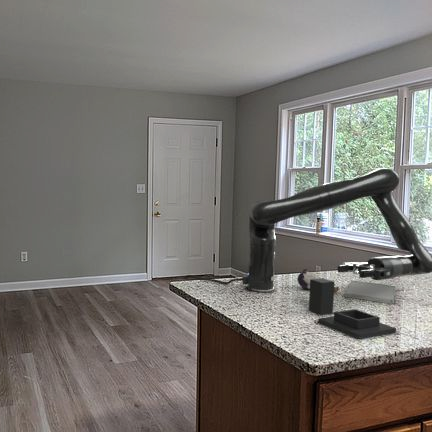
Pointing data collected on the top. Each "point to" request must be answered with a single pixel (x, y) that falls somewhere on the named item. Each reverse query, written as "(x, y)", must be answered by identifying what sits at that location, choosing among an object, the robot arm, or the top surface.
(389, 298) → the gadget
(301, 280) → the figurine
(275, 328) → the top surface
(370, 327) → the base pad
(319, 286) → the pad block
